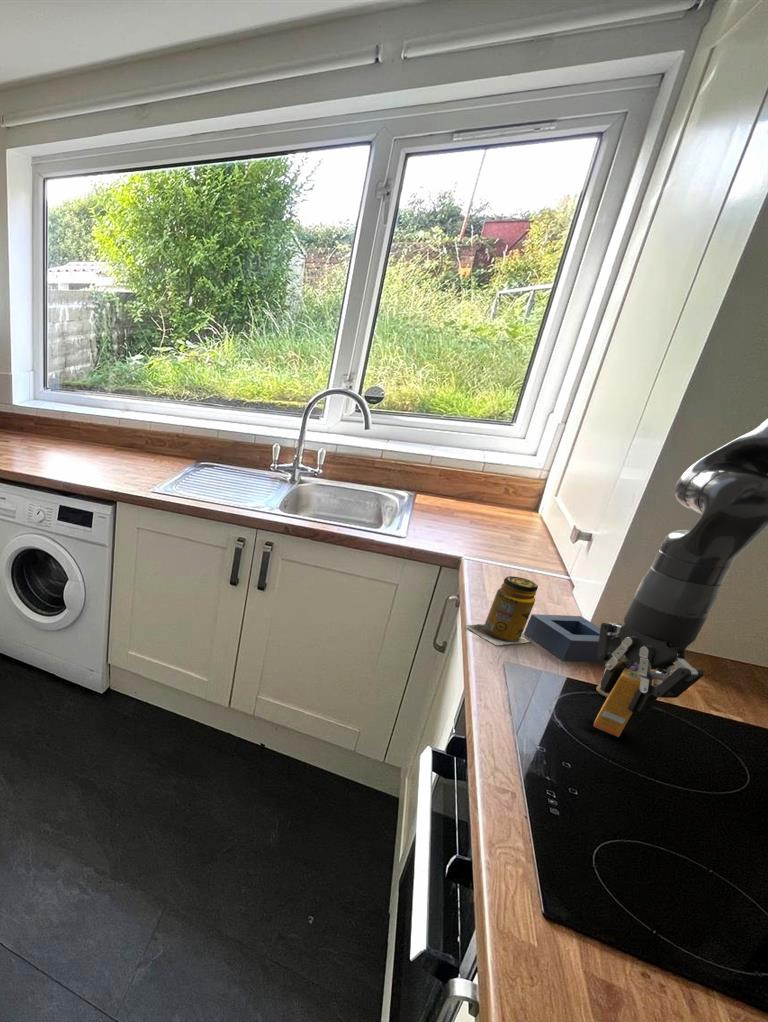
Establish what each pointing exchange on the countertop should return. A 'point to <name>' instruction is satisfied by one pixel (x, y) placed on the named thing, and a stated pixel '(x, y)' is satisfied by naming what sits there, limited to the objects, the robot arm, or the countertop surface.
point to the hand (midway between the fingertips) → (621, 700)
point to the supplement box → (618, 704)
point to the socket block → (566, 636)
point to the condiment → (508, 612)
